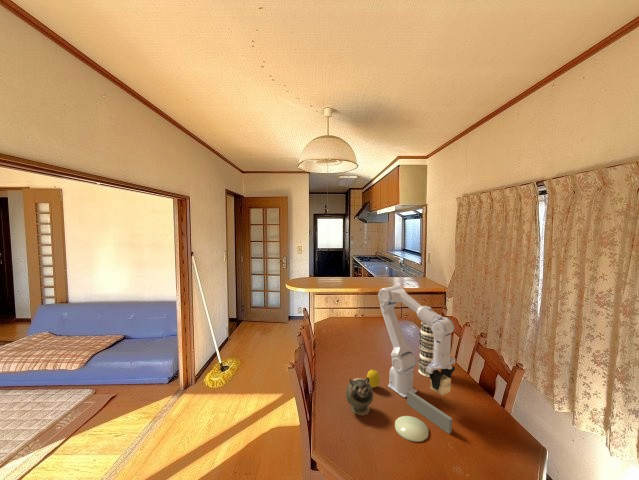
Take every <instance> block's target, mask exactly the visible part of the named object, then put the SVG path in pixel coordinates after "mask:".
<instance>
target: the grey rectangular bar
mask: <svg viewBox="0 0 639 480" xmlns="http://www.w3.org/2000/svg"><path fill="white" fill-rule="evenodd" d="M406 400H407V401H406V405H408V406H409V407H410V408H412V409H414V410H415V411H416V412H418V413H419V414H420V415H422V416H423V417H424V418H426V419H427V420H428V421H430V422H431V423H433V424H434V425H436V426H437V427H439V428H440V429H441V430H442V431H444V432H445V433H447V434H448V435H450V434H451V433H452V431H453V430H452V429H453V417H451V416H450V415H448V414H446V413H445V412H444V411H442V410H441V409H439V408H437V407H436V406H434V405H433V404H431V403H430V402H428V401H427V400H425V399H424V398H422V397H421V396H419V395H418V394H417V393H413V392H411V391H408V393H407V397H406Z"/></svg>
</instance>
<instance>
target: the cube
mask: <svg viewBox="0 0 639 480" xmlns="http://www.w3.org/2000/svg"><path fill="white" fill-rule="evenodd" d="M451 385H452V378H451V377H450V378H449V377H447V376H445V375H443V376H442V377H441V380H440V386H439V389H438V390H436V389H435V388H433V386H432V382H431V381H430V386H429V387H430V390H432V391H434V392H435V393H437V394H439V395H440V396H444V395H447V394H448V393H450V392H451V387H452V386H451Z"/></svg>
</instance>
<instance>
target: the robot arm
mask: <svg viewBox="0 0 639 480" xmlns="http://www.w3.org/2000/svg"><path fill="white" fill-rule="evenodd" d="M377 296H378V297H377V298H378V301H379V307H380V310H381V314H382V316H383V320H384V323H385V326H386V329H387V333H388V335H389V338H390V341H391V345H392V351H391V353H390V357H391V367H390V369H389V378H388V379H389V381H388V384H387V387H388V388H389V389H391V390H392V391H394V392H395V393H397V394H398V395H400V396H401V397H402V398H407V393H408V391H411V392H413V393H415V394H417V392H418V390H417V389H416V388H414V387H413V383H414V369H415V366H417V365H418V358H417V355H415V354H414V351H413V350H412V347H410V346H409V345H407V343H406V340H405V337H404V334H403V332H402V329H401V327H400V323H399V321H398V317H397V315H396V311H395V308H396V305H397V304H398V303H402V304H403V305H405V306H406V307H407V308H409V309H410V310H411V311H413V312H414V313H416V315H417V318H418V319H419V320H420V321H421V322H424V323H426V324H427V325H428V326H429V327H431V330H432V332H433V334H434V351H433V360H432V362H431V363H430V364H429V365H428V366H427V368H426V371H427V372H428V373H429V375H430V377H429V378H430V383H431V382H432V386H433V388H435V389H436V390H438V389H439V386H440V380H441V377H442V376H443V375H445V376H447V377H449V378H451V376H452V375H453V372H455V371H456V367H455V366H453V365H455V364H456V358H455V357H452V356H451V342H452V333H453V332H454V331H455V324H454V322H453V321H452V320H451V319H450V318H449V317H443V316H442V314H438V313H437V312H435V311H434V310H433V309H432V307H431V306H428V305H421V304H420V303H419V302H418V301H417V300H416V299H414V298H413V297H412V296H410V294H408V293H407V292H406V290H405V289H404V288H402V287H401V286H400V285H398V284H397V285H393V286H388V287H382V288H380V289H379V292H378V293H377ZM439 370H440V371H439Z"/></svg>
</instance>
